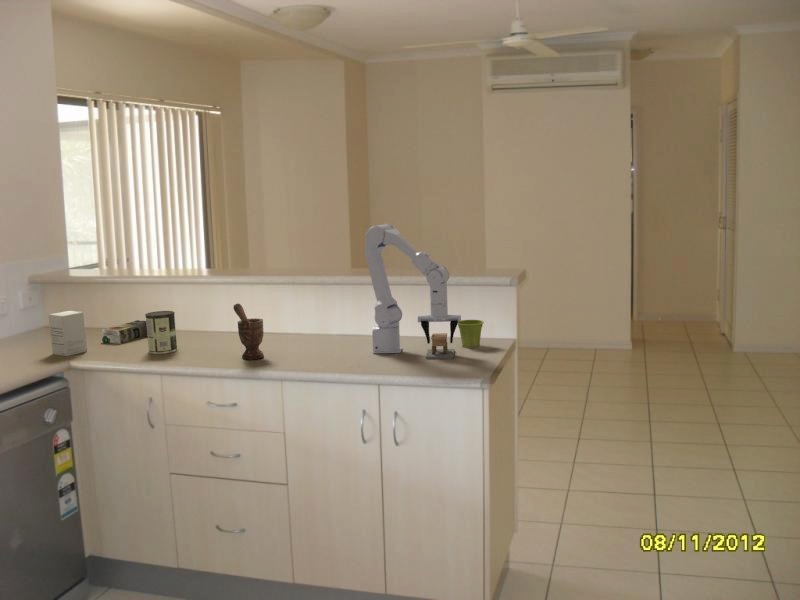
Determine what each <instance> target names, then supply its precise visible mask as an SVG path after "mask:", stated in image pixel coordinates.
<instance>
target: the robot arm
mask: <svg viewBox="0 0 800 600" xmlns="http://www.w3.org/2000/svg"><path fill="white" fill-rule="evenodd" d="M364 237H365V245H364V249H363V251H364V252H363V253H364V255H365V259H366V260H365V261H366V263H367V269H368V271H369V275H370V279H371V283H372V287H373V292H374V295H375V299H376V302H375V304H374V321H375V323H376V324H377V326H373V327H372V335H371V336H372V354H400V353H401V352H402V350H403V347H402V346H401V339H400V336H401V335H400V334H401V333H400V322H401V320H402V318H403V311H402V309H401V308H400V306H399V305H398V301H397V300H396V299H395V298H394V297H393V295H392V292H391V291H392V290H391V288H390V284H389V283H390V282H389V280H388V276H387V272H386V268H385V264H384V260H383V256H382V252H383V250H384V249H385V247H386V246H388V245H389V246H394V247H396V248H397V249H398V250H399V251H401V252H402V253H403V254H404V255H405V256H407V257H408V258H409V259H411V264H412V266H413V267H415V269H416V270H418V271H419V272H420V273H421V274H422V275H423V276H425V277H426V281H427V283H428V284H429V297H430V302H429V303H430V305H429V306H430V314H426V315H417V323H420V326H421V328H422V330H423V332H424V335H425V338H426V343H427V344H428V345H429V344H430V343H431V338H430V323H432V322H433V323H434V322H435V323H436V322H438V323H439V322H440V323H443V322H444V323H445V322H450V323H449V325H450V326H449V327H450V329H449V331H450V336H449V337H450V339H449V340H450V341H449V343H450V344H453V343H454V342H453V341H454V339H453V338H454V334H455V332H456V329H457V327H458V322H461V320H462V315H460V314H449V313H448V307H449V306H448V281H449V279H450V272H449V270H448V269H447V267H446V266H443V265H440V263H439V262H436V261H435V260H433V259H432V258H431V257H430V254H429V253H428V252H424V251H418V250H417V249H416V248H415V247H414V246H413V245H412V244H411V243H410V242H409V241H408V240H407V239H406V238H405V237H404V236H403V235H402V234H401V233H400V231H399V230H398V229H397V228H395V227H394V226H393V225H392V224H390V223H383V224H379V225H378V224H377V225H372V226H370V227H369V228H368V230H367V231H366V232H365V234H364Z"/></svg>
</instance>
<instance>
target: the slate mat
mask: <svg viewBox="0 0 800 600" xmlns="http://www.w3.org/2000/svg"><path fill="white" fill-rule="evenodd" d="M454 355H455V348H448V351H447V354H443V348H436V354H435V355H432V348H428V349H427V352H426V356H425V360H440V359H441V360H450V359H451V360H452V359H454Z"/></svg>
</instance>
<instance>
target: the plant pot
mask: <svg viewBox="0 0 800 600" xmlns="http://www.w3.org/2000/svg"><path fill="white" fill-rule="evenodd" d="M483 324H484V320H481V319H463V320H462V319H461V322H458V324H457V327H458V329H459V333H460V340H461V346H462V347H465V348H471V349H472V348H475V347H480V344H481V334H482V328H483Z"/></svg>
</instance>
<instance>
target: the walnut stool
mask: <svg viewBox="0 0 800 600" xmlns="http://www.w3.org/2000/svg"><path fill="white" fill-rule="evenodd" d="M447 338H448V333H447V332H441V333H440V332H439V333H437V332H436V333H435V332H434V333H433V332H432V333H431V338H430V340H431V342H432V343H431V349H432V355H435V354H436V349H437V347H442V349H443V354H447V351H448V349H449V348H448V339H447Z"/></svg>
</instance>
